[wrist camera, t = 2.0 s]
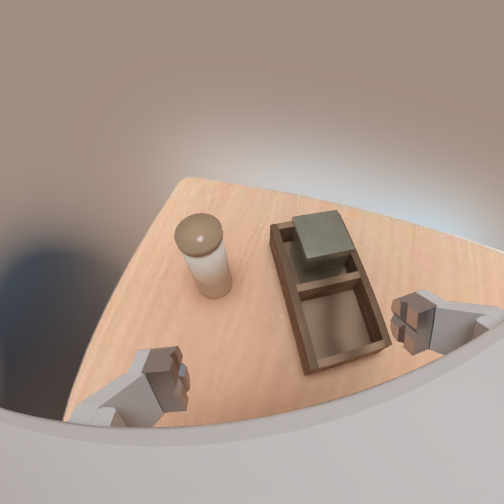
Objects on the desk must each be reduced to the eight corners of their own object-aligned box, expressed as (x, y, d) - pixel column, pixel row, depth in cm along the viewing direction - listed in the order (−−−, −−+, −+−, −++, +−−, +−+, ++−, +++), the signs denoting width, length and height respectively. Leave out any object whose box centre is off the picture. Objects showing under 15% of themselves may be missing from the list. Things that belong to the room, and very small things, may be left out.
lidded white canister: (199, 302, 40) (175, 257, 29) (195, 270, 42) (173, 218, 31) (235, 295, 40) (225, 247, 29) (229, 264, 43) (219, 209, 32)
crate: (304, 375, 33) (310, 370, 29) (269, 243, 44) (270, 224, 40) (377, 352, 34) (392, 344, 30) (333, 232, 45) (339, 213, 41)
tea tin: (299, 286, 39) (306, 258, 32) (287, 249, 42) (292, 216, 36) (340, 277, 40) (354, 248, 33) (326, 241, 43) (336, 209, 36)
